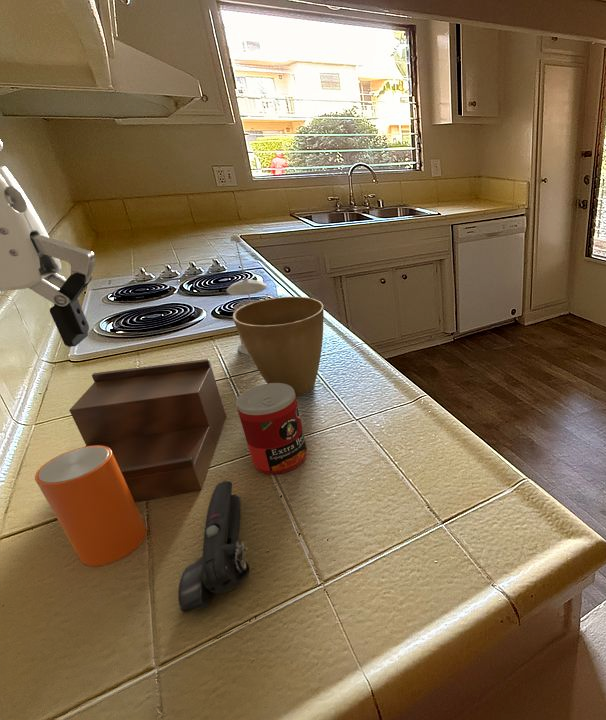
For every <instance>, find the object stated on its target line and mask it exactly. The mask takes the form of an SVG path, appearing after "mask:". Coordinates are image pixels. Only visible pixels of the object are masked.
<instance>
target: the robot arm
mask: <svg viewBox="0 0 606 720" xmlns="http://www.w3.org/2000/svg"><path fill="white" fill-rule="evenodd" d="M3 149H4V147H3V142H2V141H1V139H0V152H2V151H3ZM61 261H64V262H67V263H68V264H69V265H70V274H69V276H68V277H67V278H65V277H64V276H62V275H60V274H59V273H61V271H62V262H61ZM95 262H96V254H95V253H94V252H93V251H92V250H88V249H85V248H83V247H79V246H75V245H72V244H70V243H67V242H64V241H61V240H57V239H54V238H52V237H50V236H49V234H48V232H47V230H46V228H45V226H44V225H43V222H42V221H41V219H40V217H39V215H38V213H37V212H36V210H35V208H34V207H33V204H32V203H31V201H30V200H29V199H28V196H27V195H26V194H25V192H24V190H23V189H22V188H21V186H20V185H19V183H18V181H17V180H16V179H15V178H14V176H13V174H12V173H11V172H10V171H9V169H8V168H7V167H6V166H5V165H4V166H3V165H0V292H8V291H19V290H25V289H29V290H31V291H33V292H34V293H36V294H38V295H39V296H41V297H43V298H45V299H46V300H48V301H49V302H51V303H53V306H51V307H50V308H49V313H50V315H51V317H52V320H53V322H54V324H55V327H56V329H57V331H58V333H59V335H60V338H61V340H62V342H63V344H64V345H65V346H67V347H68V348H70V347H77V346H78V345H79V344H80V343H81V342H82V341H84V340H85V339H86V338H87V337H88V336H89V331H90V326H89V325H90V324H89V322H88V320H87V318H86V314H85V313H84V311H83V308H82V305H81V303H80V301H79V298H80V297H81V296H82V294H83V292H84V290H86V288H87V287H88V285H89V284H90V283H91V281H92V279H93V277H92V273H93V271H94V266H95Z"/></svg>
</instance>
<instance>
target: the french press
mask: <svg viewBox="0 0 606 720" xmlns="http://www.w3.org/2000/svg"><path fill="white" fill-rule="evenodd" d="M240 241H242V240H241V237H240V235H238V234H232V235H231V236H230V242H235V246H236V250H237V255H238V258H239V263H240V266H241V271H242V275H243V279H242V280H238V281H236V282H234V283H231V284H230V285H229V286H228V287H227V288H226V290H225V291H226V293H227V294H229V295H231V296H248V300H244V301H241V302H239V303H236V304H235V305H234V306H233V311H236V310H237V309H239V308H241V307H243V306H245V305H247V304H250V303H254V302H257V301H261V300H264V298H265V300H266V299H270V298H269V296H270V297H271V298H276V297H275V296H274V295H272V294H271V293H266V295H262V296H261V299H252V300H251V296H250V295H254V294H258V293H261V292H264V291H265V290H266V289H267V287H268V284H267V283H266V282H263V281H262V280H255V279H252V278H251V279H250V278H248V279H246V275H245V271H244V266H243V263H242V259H241V255H240V251H239V247H238V243H237V242H240ZM237 332H238V331H237ZM238 336H239V341H240V343H239V345H238V346H237V351H238V352H239V353H240V354H245V355H249V353H248V351H247V349H246V347H245V345H244V343H243V341H242V339H241V337H240V334H239V332H238Z"/></svg>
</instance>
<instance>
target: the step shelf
mask: <svg viewBox="0 0 606 720" xmlns="http://www.w3.org/2000/svg"><path fill="white" fill-rule="evenodd" d="M211 364H212V363H211V361H210V358H205V359H198V360H189V361H181V362H174V363H173V362H172V363H166V364H156V365H147V366H140V367H132V368H125V369H124V368H123V369H116V370H108V371H107V370H106V371H99V372H93V373H91V377H92V380H93V383H92V384H91V386H90V387H89V388H87V390H86V391H85V392H84V393H83V394H82V395H81V396H80V397H79V399H78V400H77V401H76V402H75V403H74V404H73V405H72V406H71V408H70V409H69V410H68V411H69V413H70V415H71V417H72V419H73V421H74V423H75V425H76V428H77V430H78V432H79V434H80V435H81V438H82V440H83V442H84V444H85V446H84V447H87V446H96V445H98V446H106V447H108V448H110V449H111V451H112V453H113V455H114V457H115V460H116V462H117V464H118V466H119V468H120V471H121V473H122V475H123V477H124V479H125V482H126V484H127V486H128V488H129V491H130V493H131V495H132V497H133V499H134V502H135V503H139V502H144V501H150V500H155V499H160V498H166V497H171V496H176V495H183V494H188V493H192V492H197V491H198V492H199V491H202V490H203V486H204V484H205V481H206V478H207V474H208V472H209V469H210V467H211V463H212V460H213V457H214V454H215V453H216V449H217V446H218V443H219V440H220V437H221V434H222V432H223V428H224V425H225V422H226V419H227V413H226V410H225V408H224V404H223V400H222V397H221V394H220V390H219V388H218V387H219V386H218V384H217V381H216V378H215V374H214V371H213V368H212V365H211Z"/></svg>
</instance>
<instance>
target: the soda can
mask: <svg viewBox="0 0 606 720" xmlns="http://www.w3.org/2000/svg"><path fill="white" fill-rule="evenodd" d="M34 480H35V482H36V484H37V486H38V488H39V489H40V491H41V493H42V494H43V496H44V498H45V500H46V502H47V504H48V505H49V507H50V509H51V510H52V512H53V514H54V516H55V517H56V519H57V522H58V523H59V525H60V526H61V528H62V530H63V532H64V533H65V535H66V537H67V539H68V541H69V543H70V544H71V546H72V548H73V550H74V551H75V553H76V555H77V556H78V558H79V560H80V562H81V563H82V564H84V565H86V566H90V567H98V566H103V565H108V564H111V563H114V562H116V561H118V560H120V559H123V558H124V557H126V556H128V555H129V554H131V553H132V552H134V551H135V550H136V549H137V548H138V547H140V545H141V544H143V542H144V541H145V538H146V536H147V535H148V534H147V533H148V528H147V526H146V523H145V522H144V521H145V520H144V519H143V517H142V515H141V512H140V510H139V508H138V506H137V503H136V502H134V499H133V497H132V495H131V493H130V491H129V488H128V486H127V484H126V482H125V479H124V477H123V475H122V473H121V471H120V468H119V466H118V464H117V462H116V460H115V457H114V455H113V453H112V451H111V449H110V448H108V447H106V446H98V445H96V446H87V447H85V446H82V447H78V448H74V449H71V450H67V451H66V452H63V453H61V454H59V455H57V456H55V457H53V458H52V459H50V460H48V461H47V462H46V463H44V464H43V465H41V467H39V468H38V469H37V471H36V473H35V476H34Z"/></svg>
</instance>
